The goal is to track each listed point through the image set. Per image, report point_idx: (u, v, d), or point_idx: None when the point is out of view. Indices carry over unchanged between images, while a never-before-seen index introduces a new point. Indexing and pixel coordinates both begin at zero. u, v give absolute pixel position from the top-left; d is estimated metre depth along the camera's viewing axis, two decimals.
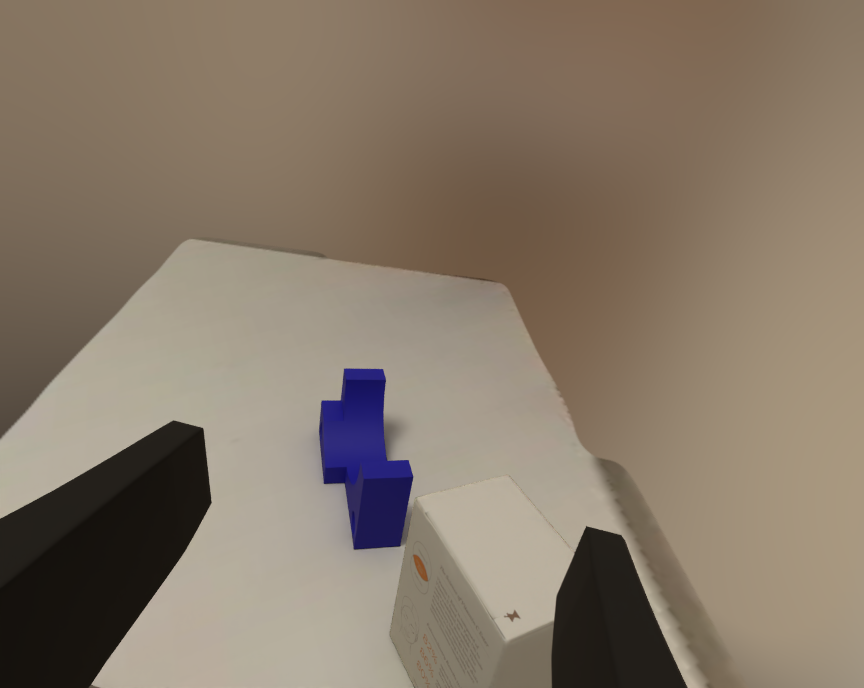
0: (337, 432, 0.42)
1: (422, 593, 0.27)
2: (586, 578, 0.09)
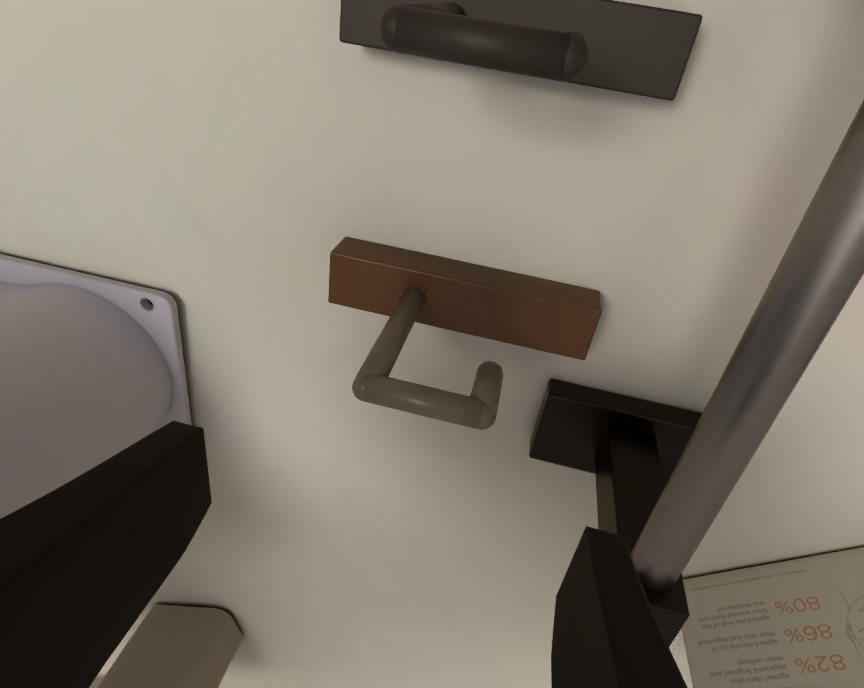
0: None
1: None
2: (586, 578, 0.09)
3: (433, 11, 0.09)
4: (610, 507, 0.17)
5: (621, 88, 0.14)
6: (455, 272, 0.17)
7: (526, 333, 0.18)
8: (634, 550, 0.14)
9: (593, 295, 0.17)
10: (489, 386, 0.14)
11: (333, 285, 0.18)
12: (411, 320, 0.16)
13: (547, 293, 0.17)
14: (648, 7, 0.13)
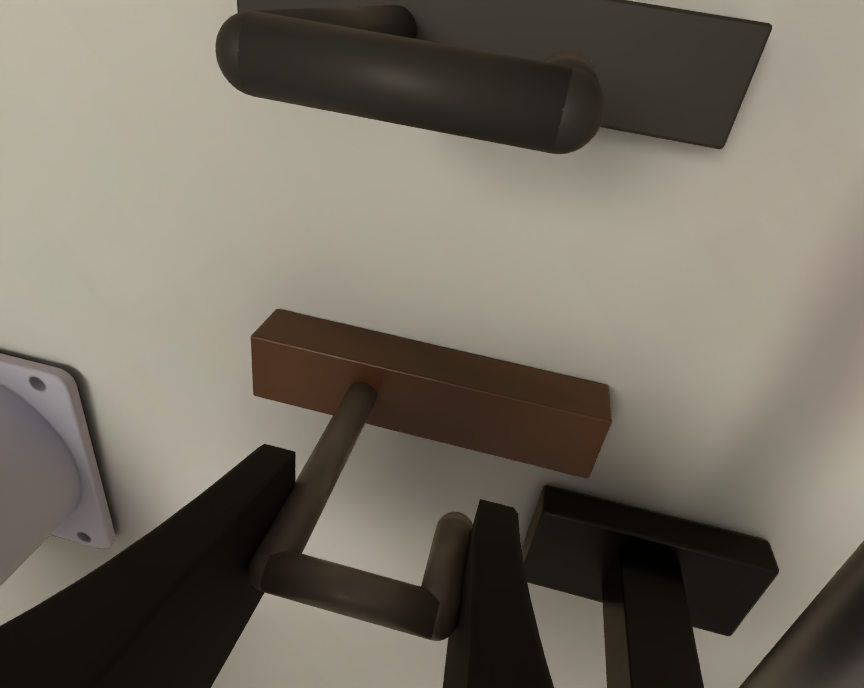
0: None
1: None
2: (471, 548, 0.09)
3: (311, 23, 0.05)
4: (624, 687, 0.12)
5: (645, 131, 0.09)
6: (416, 362, 0.13)
7: (511, 444, 0.13)
8: None
9: (600, 394, 0.13)
10: (450, 566, 0.09)
11: (258, 375, 0.14)
12: (352, 438, 0.12)
13: (539, 393, 0.13)
14: (689, 12, 0.08)
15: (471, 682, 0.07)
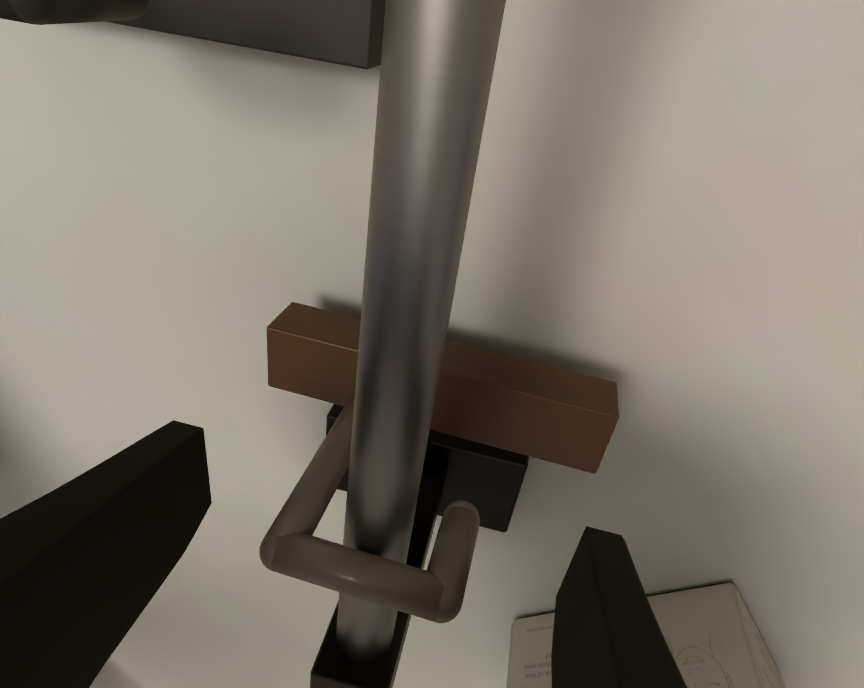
0: None
1: None
2: (586, 578, 0.09)
3: None
4: None
5: (306, 54, 0.11)
6: None
7: (520, 437, 0.13)
8: None
9: (608, 390, 0.13)
10: (455, 551, 0.10)
11: (273, 366, 0.14)
12: None
13: (548, 388, 0.13)
14: None
15: None
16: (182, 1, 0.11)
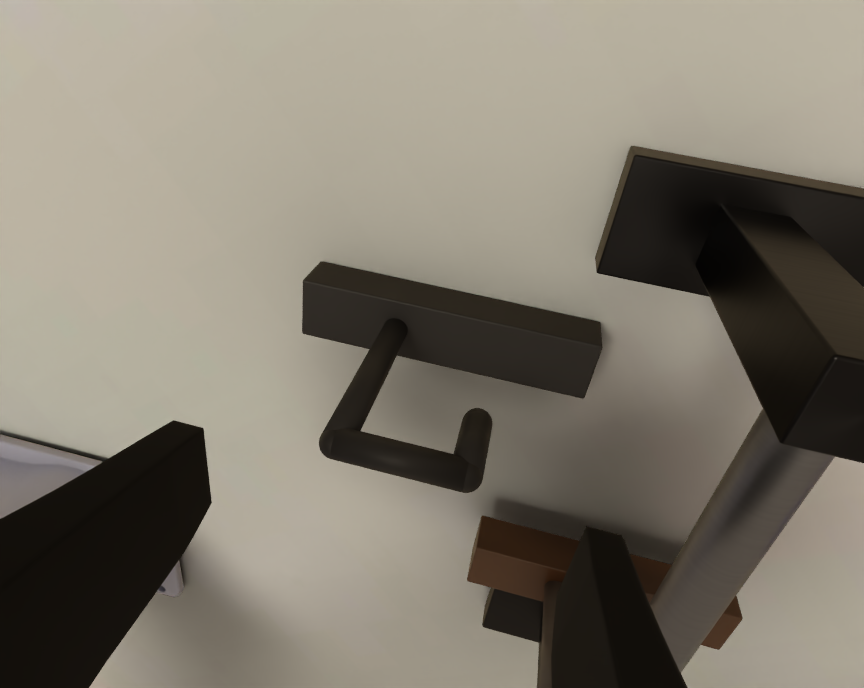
0: None
1: None
2: (586, 578, 0.09)
3: (360, 439, 0.12)
4: None
5: (539, 387, 0.16)
6: None
7: None
8: None
9: None
10: None
11: (475, 570, 0.19)
12: None
13: None
14: (557, 336, 0.15)
15: None
16: (452, 350, 0.16)
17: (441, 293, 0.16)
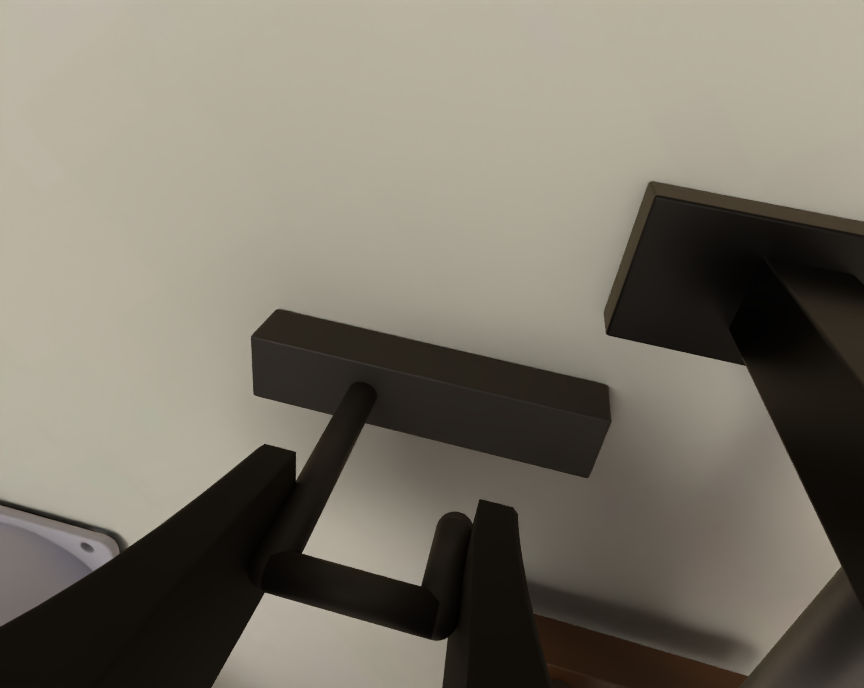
0: None
1: None
2: (471, 547, 0.09)
3: (300, 568, 0.09)
4: None
5: (535, 464, 0.13)
6: (605, 664, 0.16)
7: None
8: None
9: None
10: None
11: None
12: None
13: None
14: (556, 408, 0.12)
15: (471, 682, 0.07)
16: (431, 419, 0.13)
17: (418, 350, 0.14)
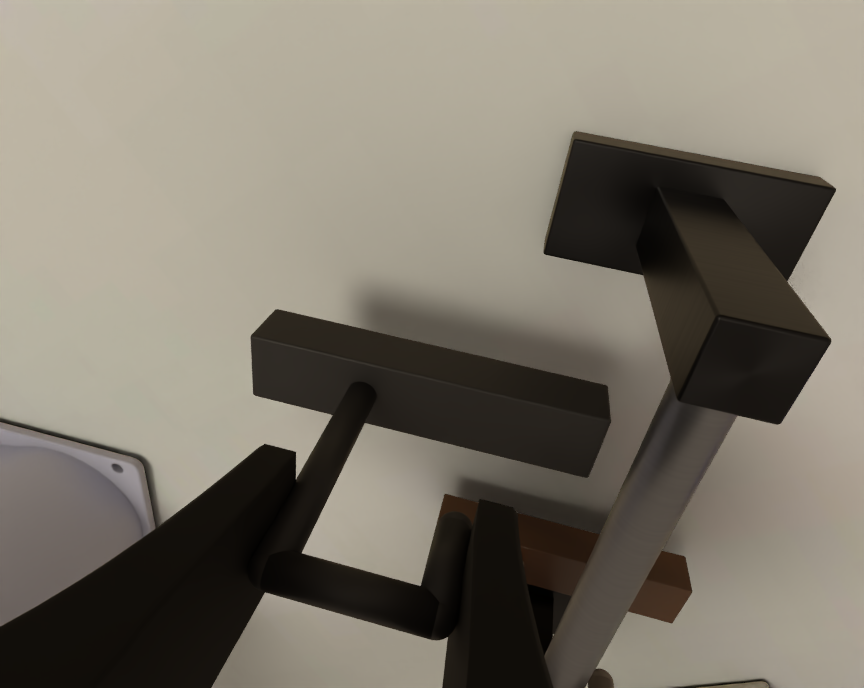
0: None
1: None
2: (470, 547, 0.09)
3: (299, 568, 0.09)
4: None
5: (535, 463, 0.13)
6: (553, 542, 0.19)
7: None
8: None
9: (681, 566, 0.19)
10: None
11: None
12: None
13: None
14: (556, 408, 0.12)
15: (470, 682, 0.07)
16: (430, 419, 0.13)
17: (417, 350, 0.14)
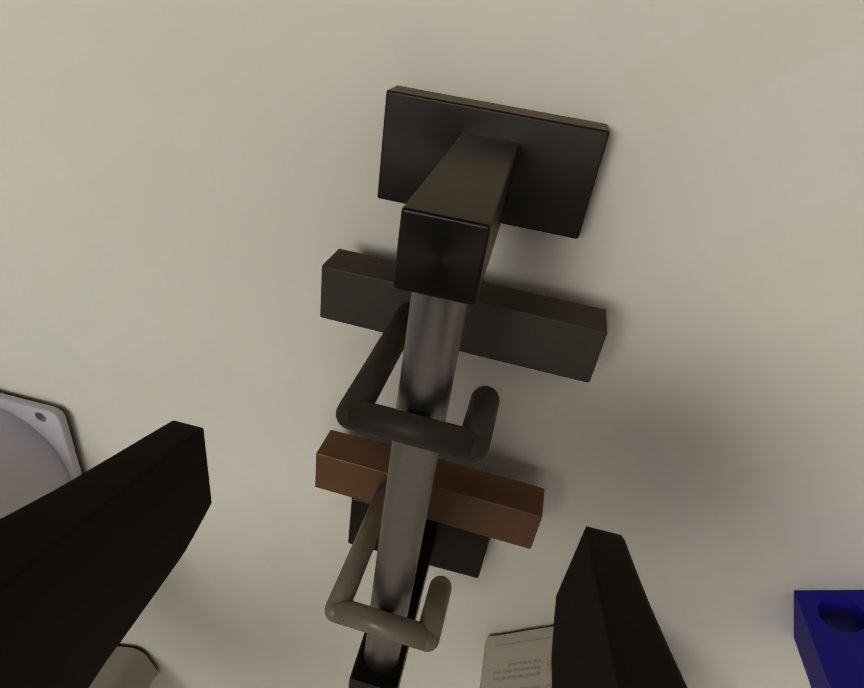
0: None
1: None
2: (586, 578, 0.09)
3: (375, 409, 0.12)
4: None
5: (546, 371, 0.17)
6: None
7: (481, 525, 0.21)
8: None
9: (538, 495, 0.20)
10: (436, 610, 0.17)
11: (319, 475, 0.21)
12: (380, 525, 0.19)
13: (498, 495, 0.20)
14: (564, 322, 0.16)
15: None
16: (463, 334, 0.17)
17: None
